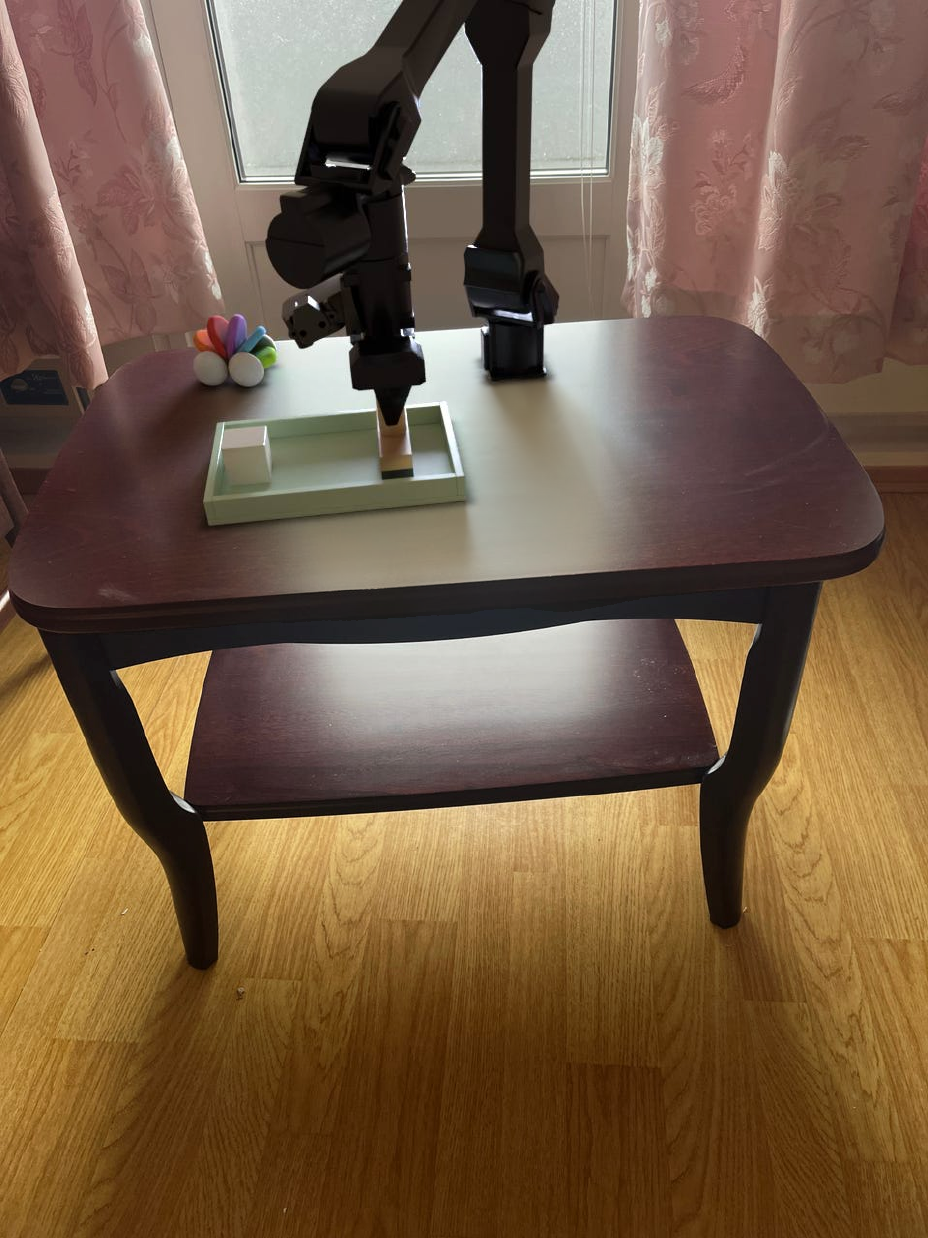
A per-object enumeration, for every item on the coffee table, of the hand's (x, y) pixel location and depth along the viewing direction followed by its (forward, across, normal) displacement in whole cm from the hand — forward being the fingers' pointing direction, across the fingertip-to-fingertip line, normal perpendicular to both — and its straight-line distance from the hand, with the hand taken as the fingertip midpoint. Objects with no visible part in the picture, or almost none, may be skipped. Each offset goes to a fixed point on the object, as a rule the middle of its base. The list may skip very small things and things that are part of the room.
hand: (390, 417), depth 90 cm
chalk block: (+4, 0, -14) cm, 15 cm away
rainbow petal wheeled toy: (+5, -25, -17) cm, 31 cm away
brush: (+4, 0, 0) cm, 4 cm away
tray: (+5, 0, -6) cm, 8 cm away
